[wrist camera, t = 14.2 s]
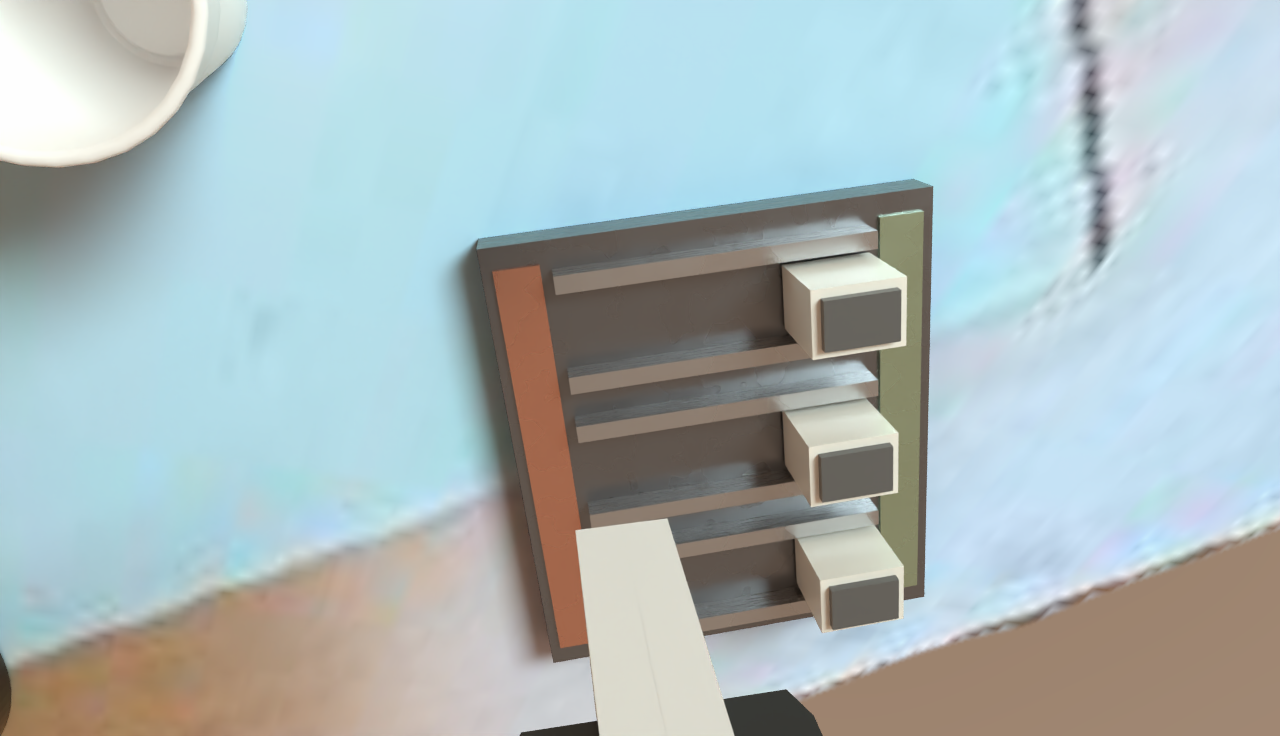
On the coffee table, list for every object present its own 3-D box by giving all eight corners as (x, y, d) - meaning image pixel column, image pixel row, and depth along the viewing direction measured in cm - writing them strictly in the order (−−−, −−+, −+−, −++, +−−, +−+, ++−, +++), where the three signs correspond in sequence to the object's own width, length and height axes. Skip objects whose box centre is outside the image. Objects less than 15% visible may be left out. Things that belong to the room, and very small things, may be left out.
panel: (552, 637, 46) (554, 678, 43) (478, 238, 38) (474, 256, 35) (908, 574, 48) (934, 610, 45) (913, 179, 39) (945, 191, 36)
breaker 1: (784, 328, 39) (815, 363, 35) (781, 264, 38) (813, 293, 34) (869, 316, 39) (910, 349, 35) (869, 252, 38) (911, 278, 34)
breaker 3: (796, 582, 44) (824, 638, 40) (794, 533, 43) (823, 586, 39) (871, 569, 44) (906, 623, 40) (871, 520, 43) (907, 571, 39)
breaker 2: (784, 464, 41) (813, 512, 37) (782, 408, 40) (811, 451, 36) (864, 451, 42) (901, 497, 38) (863, 396, 41) (902, 436, 36)
